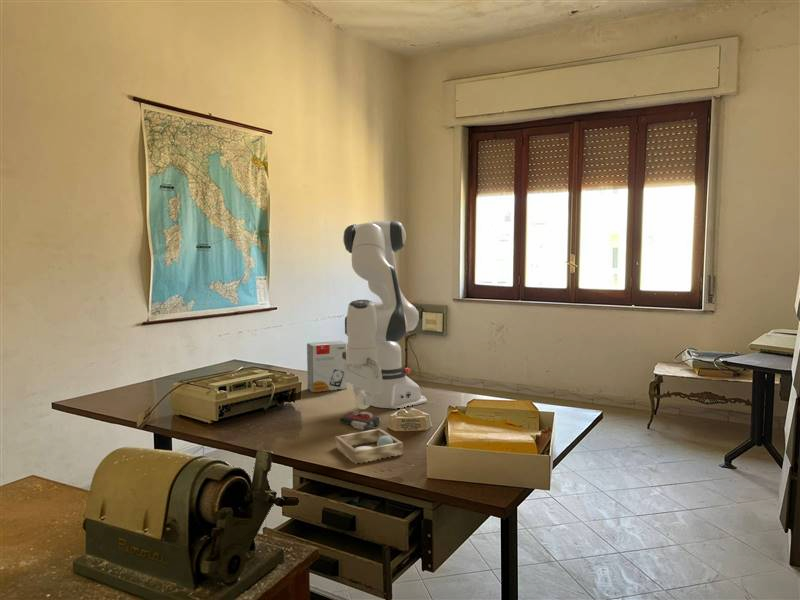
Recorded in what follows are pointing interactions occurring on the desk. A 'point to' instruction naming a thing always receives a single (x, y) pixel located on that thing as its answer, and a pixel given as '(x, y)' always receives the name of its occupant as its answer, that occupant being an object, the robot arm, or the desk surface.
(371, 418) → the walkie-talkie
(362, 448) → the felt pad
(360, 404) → the cream ball
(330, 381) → the hard drive box
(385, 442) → the blue ball
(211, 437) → the desk surface
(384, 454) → the shallow open tray
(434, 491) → the desk surface
